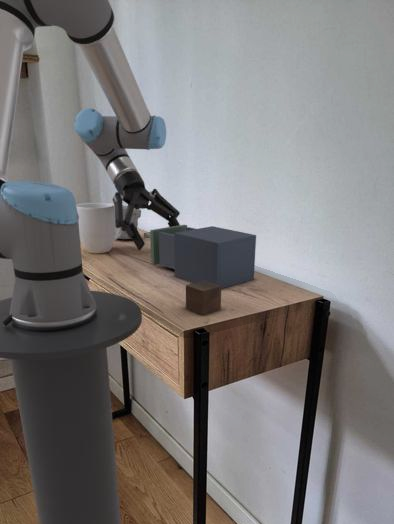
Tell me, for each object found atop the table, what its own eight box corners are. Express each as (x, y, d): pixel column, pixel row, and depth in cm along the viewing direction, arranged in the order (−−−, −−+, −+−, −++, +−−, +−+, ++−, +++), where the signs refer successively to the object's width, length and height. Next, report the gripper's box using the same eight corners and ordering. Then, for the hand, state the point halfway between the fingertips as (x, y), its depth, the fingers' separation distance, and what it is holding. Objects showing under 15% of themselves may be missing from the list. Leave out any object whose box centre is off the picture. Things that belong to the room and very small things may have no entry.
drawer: (139, 260, 128) (137, 227, 124) (172, 253, 135) (171, 221, 131) (185, 275, 116) (185, 238, 112) (219, 267, 123) (220, 232, 119)
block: (202, 315, 94) (202, 290, 92) (185, 308, 97) (185, 284, 95) (220, 309, 97) (221, 285, 95) (203, 303, 100) (204, 280, 98)
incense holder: (142, 239, 157) (141, 206, 152) (120, 242, 152) (117, 208, 148) (128, 234, 164) (126, 202, 159) (105, 237, 159) (103, 204, 155)
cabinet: (174, 276, 118) (173, 232, 114) (211, 267, 126) (212, 226, 121) (216, 290, 108) (217, 243, 104) (253, 279, 116) (256, 235, 112)
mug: (111, 243, 151) (108, 199, 146) (135, 248, 145) (132, 203, 139) (71, 251, 141) (66, 205, 136) (95, 257, 135) (91, 209, 129)
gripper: (156, 185, 142) (190, 244, 139) (81, 192, 127) (117, 258, 123) (167, 167, 136) (203, 228, 133) (90, 171, 121) (128, 241, 117)
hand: (162, 243), depth 128 cm, fingers open, 13 cm apart
